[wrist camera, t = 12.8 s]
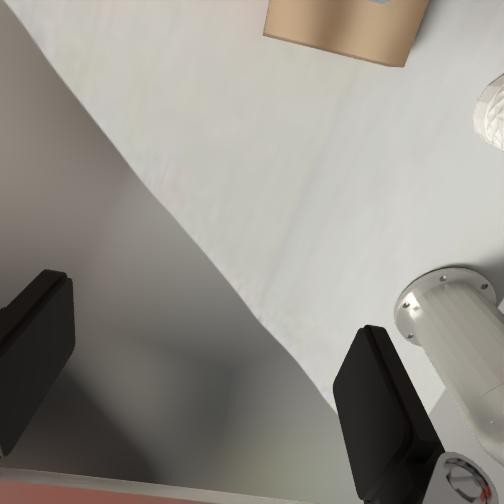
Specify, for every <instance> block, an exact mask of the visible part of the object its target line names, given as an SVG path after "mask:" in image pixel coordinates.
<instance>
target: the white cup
mask: <svg viewBox="0 0 504 504" xmlns="http://www.w3.org/2000/svg"><path fill="white" fill-rule="evenodd" d="M473 122H474V127H475V132H476V133H477V134H478V135H479V136H480V137H481V138H482V139H483V140H484V141H485V142H487V143H490V144H492V145H494V146H496V147H498V148H499V149H501V150H503V151H504V75H502V76H501V77H499V78H498V79H497V80H495V81H494V82H493V83H491V84H490V85H488V86H487V88H486V89H485V91H484V92H483V93H482V95H481V96H480V98H479V99H478V101H477V103H476V107H475V111H474V114H473Z"/></svg>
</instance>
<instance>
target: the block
mask: <svg viewBox="0 0 504 504" xmlns="http://www.w3.org/2000/svg"><path fill="white" fill-rule="evenodd" d="M368 1H371V2H375V3H379V4H383V3H386V2H388V1H390V0H368Z"/></svg>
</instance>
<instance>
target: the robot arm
mask: <svg viewBox="0 0 504 504" xmlns="http://www.w3.org/2000/svg"><path fill="white" fill-rule="evenodd" d="M394 320H395V324H396V326H397V329H398V330H399V332H400V334H401V335H402V336H403V337H404V338H405V339H406V340H407V341H409V342H411V343H412V344H415V345H418V346H421V347H422V348H423V349H424V351H425V353H426V354H427V356H428V358H429V360H430V361H431V363H432V365H433V366H434V368H435V370H436V372H437V373H438V375H439V377H440V378H441V380H442V382H443V383H444V385H445V387H446V389H447V390H448V392H449V394H450V395H451V397H452V399H453V401H454V402H455V404H456V406H457V407H458V409H459V411H460V412H461V414H462V416H463V417H464V419H465V421H466V423H467V424H468V426H469V428H470V430H471V432H472V433H473V435H474V437H475V438H476V440H477V441H478V443H479V444H480V446H481V447H482V448H483V449H484V450H485V452H486V453H487V454H488V455H489V456H490V457H491V458H493V459H494V460H495V461H496V462H498V463H499V464H501V465H502V466H504V314H503V313H502V312H501V311H500V310H499V309H498V308H497V307H496V293H495V289H494V288H493V286H492V284H491V283H490V282H489V281H488V280H487V279H486V278H485V277H484V276H482V275H481V274H479V273H478V272H475V271H473V270H470V269H465V268H446V269H441V270H437V271H434V272H431V273H429V274H426V275H424V276H422V277H421V278H419V279H417V280H416V281H414V282H413V283H412V284H411V285H410V286H408V287H407V288H406V289H405V291H404V292H403V293H402V294H401V296H400V297H399V299H398V301H397V303H396V306H395V309H394ZM74 347H75V324H74V303H73V282H72V279H70V278H67V275H66V273H64V272H59V271H53V270H47V269H46V270H43V271H42V272H41V273H40V274H39V275H38V276H37V277H36V278H35V279H34V280H33V281H32V282H31V283H30V284H29V285H28V286H27V287H26V288H25V289H24V290H23V291H22V292H21V293H20V294H19V295H18V296H17V297H16V298H15V299H14V300H13V301H12V302H11V303H10V304H9V305H8V306H7V307H4V308H1V309H0V458H1V456H4V457H5V456H7V455H8V454H9V453H10V452H11V451H12V449H13V448H14V446H15V445H16V443H17V441H18V440H19V438H20V436H21V435H22V433H23V432H24V430H25V428H26V427H27V425H28V424H29V422H30V420H31V418H32V417H33V416H34V414H35V412H36V411H37V409H38V407H39V406H40V404H41V403H42V401H43V399H44V398H45V396H46V395H47V393H48V391H49V390H50V388H51V386H52V384H53V383H54V382H55V380H56V378H57V377H58V375H59V374H60V372H61V370H62V368H63V367H64V366H65V364H66V362H67V361H68V359H69V357H70V356H71V354H72V352H73V350H74ZM333 394H334V399H335V403H336V407H337V411H338V415H339V419H340V424H341V428H342V432H343V436H344V440H345V445H346V449H347V453H348V457H349V462H350V466H351V470H352V474H353V478H354V482H355V487H356V491H357V494H358V497H359V498H360V499H361V500H363V501H364V504H499V501H498V494H497V491H496V488H495V486H494V484H493V483H492V481H491V480H490V478H489V476H488V475H487V474H486V473H485V472H484V471H483V470H482V469H481V467H479V466H478V465H477V464H476V463H474V462H473V461H472V460H471V459H469V458H467V457H465V456H464V455H461V454H458V453H456V452H445V450H444V448H443V446H442V443H441V441H440V439H439V437H438V435H437V433H436V431H435V429H434V427H433V425H432V423H431V421H430V419H429V417H428V415H427V413H426V411H425V409H424V406H423V404H422V402H421V400H420V398H419V396H418V394H417V392H416V390H415V388H414V386H413V384H412V382H411V380H410V378H409V376H408V374H407V372H406V370H405V368H404V366H403V364H402V362H401V359H400V357H399V355H398V353H397V351H396V349H395V347H394V345H393V343H392V341H391V339H390V337H389V335H388V333H387V331H386V329H385V328H383V327H378V326H373V325H365V326H364V328H360V329H359V330H358V332H357V334H356V336H355V338H354V340H353V342H352V344H351V346H350V349H349V351H348V353H347V355H346V357H345V359H344V361H343V363H342V366H341V368H340V370H339V372H338V374H337V376H336V378H335V380H334V383H333ZM0 504H316V503H308V502H300V501H292V500H283V499H276V498H268V497H260V496H251V495H243V494H235V493H226V492H218V491H210V490H201V489H192V488H184V487H176V486H167V485H158V484H150V483H141V482H132V481H124V480H114V479H105V478H96V477H88V476H79V475H70V474H61V473H53V472H42V471H32V470H20V469H10V468H0Z"/></svg>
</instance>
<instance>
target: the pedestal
mask: <svg viewBox="0 0 504 504" xmlns="http://www.w3.org/2000/svg"><path fill="white" fill-rule="evenodd" d="M428 2H429V0H390V1H388V2H386V3H383V4H379V3H375V2H371V1H368V0H270V1H269V7H268V12H267V17H266V22H265V27H264V33H263V36H267V37H271V38H275V39H279V40H283V41H287V42H291V43H295V44H299V45H303V46H307V47H311V48H315V49H320V50H324V51H328V52H332V53H336V54H340V55H344V56H348V57H352V58H356V59H360V60H364V61H368V62H372V63H376V64H380V65H384V66H388V67H404V66H405V63H406V61H407V58H408V55H409V53H410V50H411V47H412V45H413V42H414V39H415V36H416V34H417V31H418V28H419V26H420V23H421V20H422V18H423V15H424V12H425V10H426V7H427V4H428Z"/></svg>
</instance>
